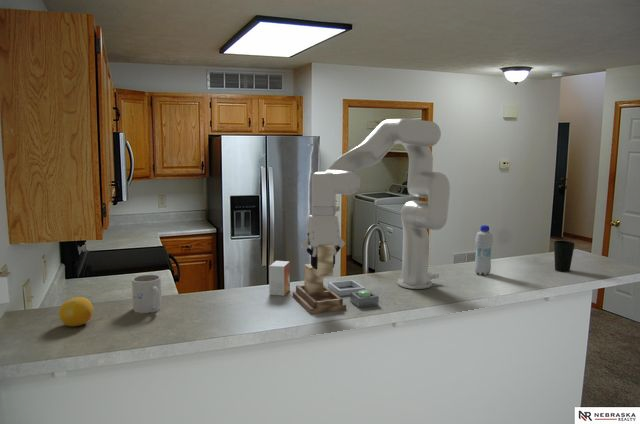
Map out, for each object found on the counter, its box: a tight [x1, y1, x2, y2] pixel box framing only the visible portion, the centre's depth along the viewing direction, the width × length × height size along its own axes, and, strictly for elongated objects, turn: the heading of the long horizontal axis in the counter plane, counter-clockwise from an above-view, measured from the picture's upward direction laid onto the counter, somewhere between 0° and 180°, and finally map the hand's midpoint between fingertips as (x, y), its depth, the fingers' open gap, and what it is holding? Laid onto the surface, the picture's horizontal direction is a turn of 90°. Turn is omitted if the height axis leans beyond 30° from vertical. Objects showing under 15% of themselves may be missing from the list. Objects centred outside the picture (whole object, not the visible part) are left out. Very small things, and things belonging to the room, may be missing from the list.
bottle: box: [474, 224, 494, 276], centre depth 199 cm, size 7×7×20 cm
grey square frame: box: [327, 279, 366, 297], centre depth 178 cm, size 10×11×2 cm
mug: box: [131, 274, 163, 314], centre depth 156 cm, size 12×9×10 cm
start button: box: [358, 289, 370, 297], centre depth 164 cm, size 4×4×3 cm
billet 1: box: [303, 263, 324, 293], centre depth 168 cm, size 5×5×10 cm
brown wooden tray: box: [292, 283, 347, 315], centre depth 164 cm, size 12×19×4 cm, turn 20°
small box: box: [268, 260, 291, 297], centre depth 175 cm, size 8×6×10 cm
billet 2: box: [313, 244, 334, 277], centre depth 158 cm, size 5×5×10 cm
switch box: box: [349, 290, 380, 309], centre depth 164 cm, size 7×7×3 cm
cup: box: [553, 240, 576, 273], centre depth 206 cm, size 8×8×12 cm
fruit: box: [58, 296, 94, 327], centre depth 143 cm, size 9×8×8 cm
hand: (322, 266), depth 158 cm, fingers closed on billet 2, 5 cm apart
